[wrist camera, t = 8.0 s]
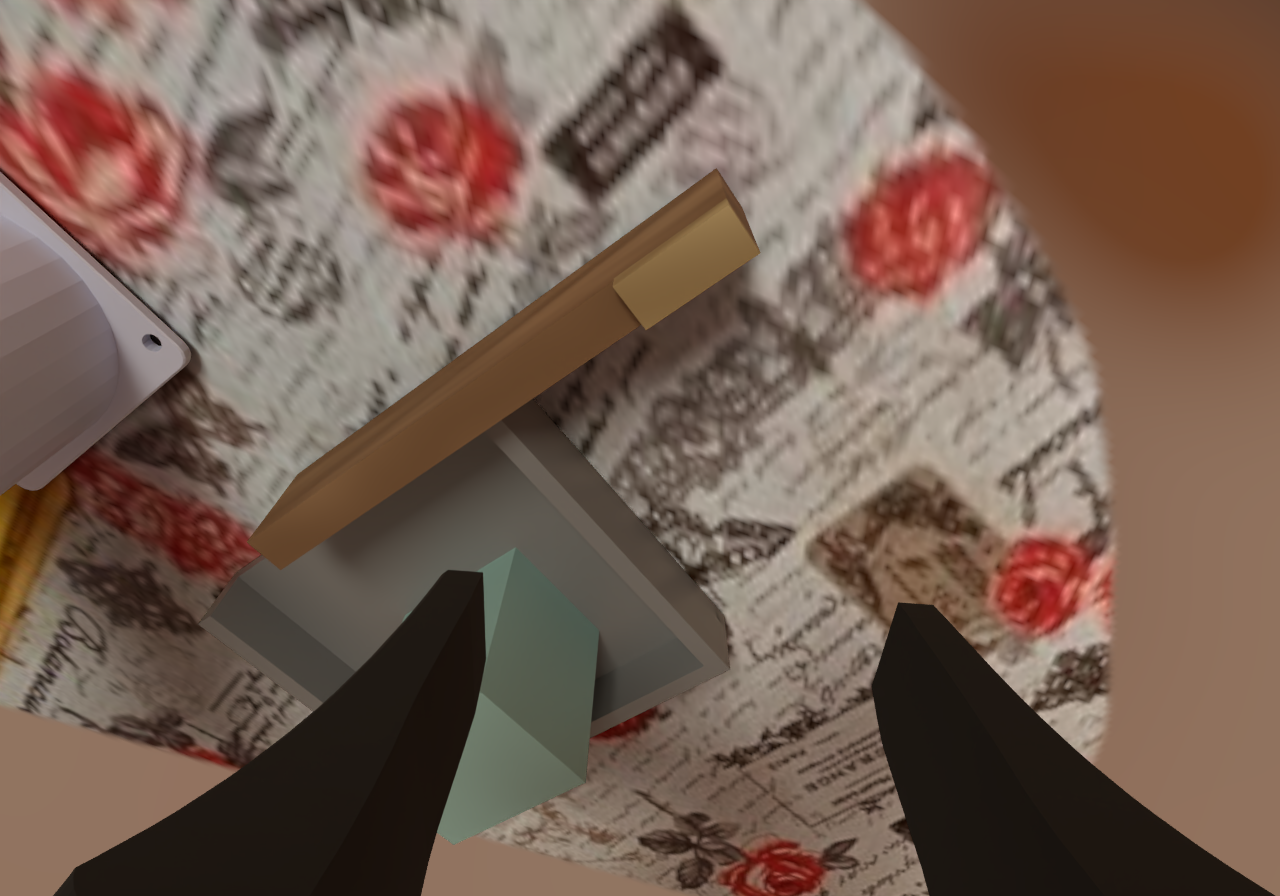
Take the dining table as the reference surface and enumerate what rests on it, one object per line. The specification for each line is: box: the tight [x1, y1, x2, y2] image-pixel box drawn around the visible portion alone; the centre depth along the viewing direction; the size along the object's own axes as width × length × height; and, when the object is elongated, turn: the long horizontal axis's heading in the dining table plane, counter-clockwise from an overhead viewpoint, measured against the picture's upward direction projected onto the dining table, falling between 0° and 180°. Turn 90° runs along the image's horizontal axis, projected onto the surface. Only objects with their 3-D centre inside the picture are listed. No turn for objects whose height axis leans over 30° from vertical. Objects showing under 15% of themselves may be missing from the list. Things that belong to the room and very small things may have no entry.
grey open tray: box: [198, 399, 730, 738], centre depth 26 cm, size 11×13×2 cm
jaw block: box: [402, 547, 599, 845], centre depth 24 cm, size 4×5×6 cm
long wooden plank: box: [247, 168, 760, 570], centre depth 20 cm, size 1×16×4 cm, turn 126°
